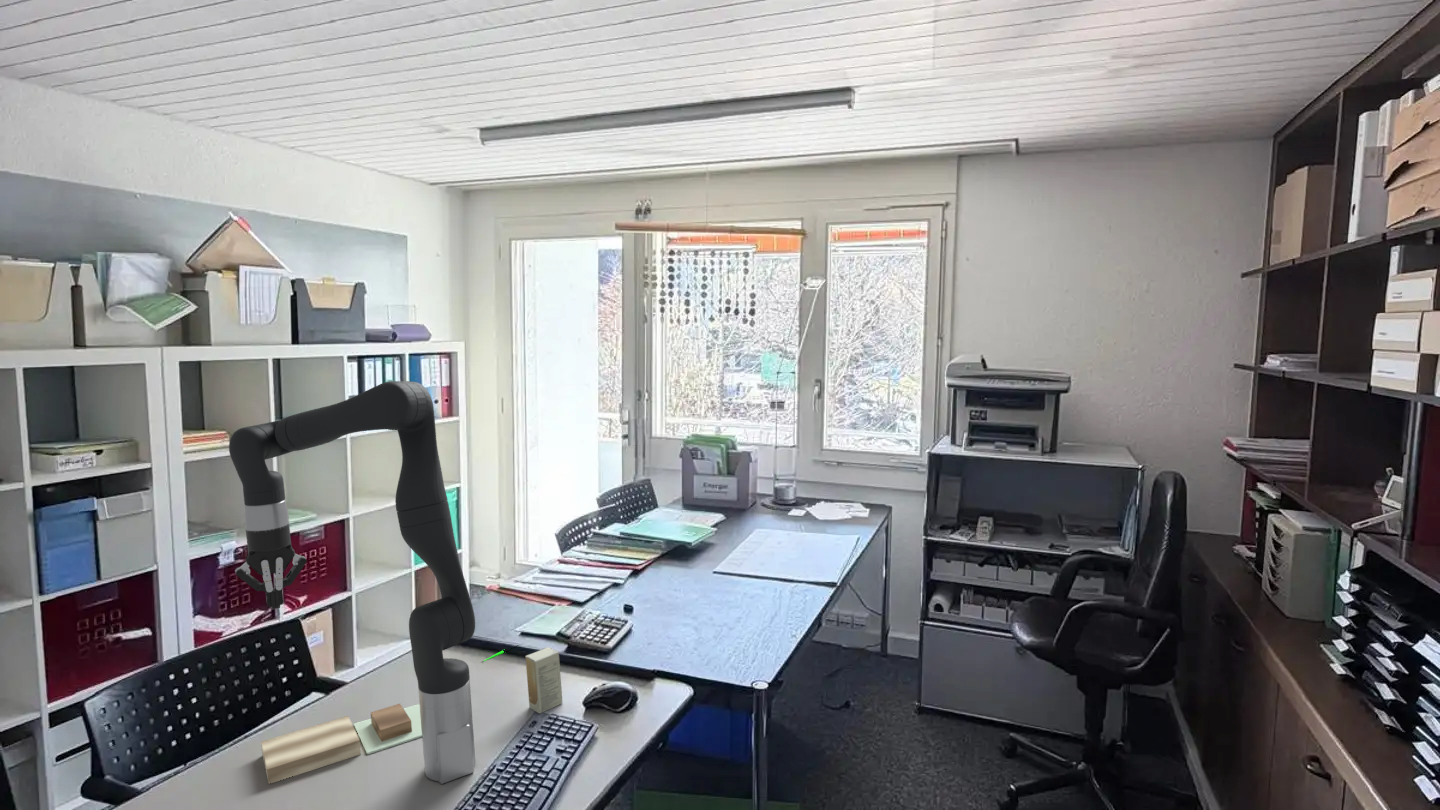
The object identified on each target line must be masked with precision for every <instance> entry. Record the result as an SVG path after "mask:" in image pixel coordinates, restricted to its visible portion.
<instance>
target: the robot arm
mask: <svg viewBox="0 0 1440 810" xmlns="http://www.w3.org/2000/svg"><path fill="white" fill-rule="evenodd" d="M435 419H436V418H435V407H434V403H433V399H432V396H431V394H430V392H429V390H428V389H427V388H426V387H425V386H424V385H423V384H421V383H419V382H417V381H408V380H407V381H405V380H389V381H386V382H382V383H380V384H378V385H375V386H373V387H371V388H369V389H366V390H365V391H363V392H361V393H359V394H357V395H355V396H352V397H350V398H348V399H345V400H341V401H340V402H337V403H334V404H330V405H326V406H322V407H318V408H314V409H310V410H306V411H303V412H302V411H301V412H299V413H296V414H292V415H291V414H290V415H289V416H286V417H284V418H281V419H279V420H274V421H269V422H266V423H261V424H254V425H251V426H250V425H249V426H245V427H240V428H239V429H237V430H236V431H234V432H233V433H232V435H231V437H230V439H229V444H228V451H229V455H230V458H231V462H232V463H233V466H234V468H235V471H236V473H237V476H238V478H239V479H240V483H241V485H242V491H243V502H244V503H243V504H244V515H243V517H244V523H243V524H244V526H245V537H246V538H245V539H246V547H247V554H246V555H247V556H246V557H245V562H244V563H243V564H241V566H238V567H236V568H235V570H234V572H235V575H236V576H237V577H238V578H239V579H241V580H242V581H243V582H245V583H246V584H247V585H249V586H250V587H251V588H252V589H254V590H255V591H256V592H264V593H265V599H266V600H265V601H266V605H267V607H268V608H271V611H272V610H277V609H280V608H281V606H282V605H283V604H284V601H285V600H284V592H283V590H284V588H285V587H288V586H292V584H293V583H294V581H295V580H296V578H297V577H298V575H299V574H300V573H301V571H302V569H304V567H305V565H306V564H307V562H308V560H307V557H305V556H304V555H300V554H297V553H296V552H295V551H296V550H295V549H294V548H293V546H292V540H291V529H290V528H291V527H290V520H289V519H290V517H289V509H288V505H287V500H286V493H285V483H284V482H285V481H284V478H283V475H282V473H280V472H279V471H276V470H269V468H268V466H267V464H266V460H269V459H272V458H276V457H281V456H283V455H287V454H290V453H293V452H299V451H304V450H306V449H308V450H309V449H311V448H315V447H319V446H322V445H326V444H329V443H331V442H334V441H335V440H338V439H339V438H342V437H344V436H347V435H349V434H350V435H351V434H352V433H358V432H364V431H365V432H366V431H379V430H389V431H397V433H398V437H399V443H400V447H401V456H402V459H401V462H402V463H401V468H400V473H399V478H398V480H397V481H398V483H397V485H396V493H395V509H396V510H395V511H396V515H397V519H398V526H399V530H400V535H401V536H402V539H403V540H404V542H405V543H406V544H407V546H408V547H409V548H410V549H411V550H412V552H414V553H415V554H416V555H417V557H419V558H420V559H421V561H423V562H424V563H425V564H426V566H428V567H429V569H430V570H431V572H432V574H433V575H434V577H435V579H436V582H437V585H438V588H439V592H440V596H441V598H439V599H436V600H433V601H430V602H426V603H424V604H421V605H419V606H417V607H415V608H414V609H412V611H411V613H410V615H409V621H408V628H409V629H408V632H409V633H408V634H409V638H410V647H411V655H412V662H413V663H412V664H413V668H414V669H413V670H414V673H415V677H416V680H417V687H418V699H419V701H418V702H419V704H420V716H421V728H422V737H421V739H422V740H421V741H422V750H423V751H422V753H423V761H424V774H425V776H426V778H428V779H429V780H432V781H434V782H435V781H436V782H439V783H440V784H441V785H442V784H445V783H448V782H451V781H453V780H457V779H459V778H462V777H464V776H467V775H470V774H473V773H474V772H475V769H474V767H475V766H476V762H477V761H476V748H475V735H474V723H473V721H474V720H473V711H472V710H473V709H472V694H471V679H470V667H469V665H468V663H467V662H465V661H464V660H462V659H458V658H446V657H445V658H444V654H443V651H445V650H448V649H450V648H452V647H455V646H458V645H460V644H463V643H465V642H467V641H470V639H471V638H473V636H474V634H475V631H476V617H475V611H474V608H473V604H472V600H471V596H470V593H469V590H468V586H467V583H466V580H465V576H464V573H463V569H462V565H461V562H460V557H459V553H458V549H457V548H458V547H457V544H456V540H455V539H456V538H455V532H454V527H453V521H452V516H451V510H450V506H449V501H448V500H449V499H448V497H447V493H446V487H445V482H444V478H443V471H442V467H441V461H440V460H441V459H440V455H439V451H438V450H439V449H438V443H437V430H436V420H435ZM291 561H292V565H293V566H292V567H291V568H290V570H289V571H288V573H287V574H286V575H285V577H284V574H283V573H284V571H286V569H287V568H288V566H289V565H290V564H291ZM250 568H252V569H253V570H254V571H255V572H256V574H258V575H261V576H262V578H263V579H262V580H263V582H260V581H259V580H258V579H256V578H255V577H254V576H252V574H251V569H250ZM271 575H273V576H274V579H273V580H274V581H273V582H272V576H271ZM273 583H274V585H273ZM273 586H274V587H273Z"/></svg>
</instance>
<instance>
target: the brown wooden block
mask: <svg viewBox="0 0 1440 810" xmlns="http://www.w3.org/2000/svg"><path fill="white" fill-rule="evenodd" d="M370 719H371V723H372V725H373V727H374V729H375V731H376V732H377V734H378V736H379V738H380V740H381V742H382V741H385V740H388V739H391V738H394V737H397V736H400V735H403V734H406V733H409V732H412V725H411V719H410V718H409V716H408V715H407V713H406V712H405V710H404V708H403V706H402V704H401V703H396V704H394V705H391V706H388V707H384V708H381V709H378V710H374V711H370Z"/></svg>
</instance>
